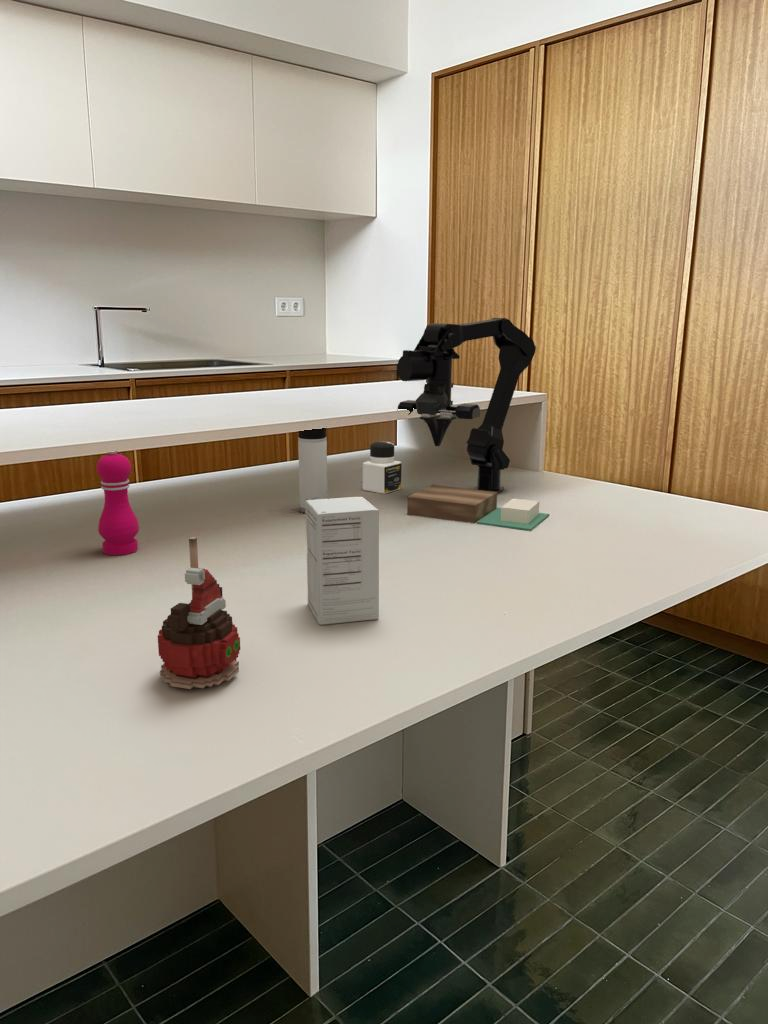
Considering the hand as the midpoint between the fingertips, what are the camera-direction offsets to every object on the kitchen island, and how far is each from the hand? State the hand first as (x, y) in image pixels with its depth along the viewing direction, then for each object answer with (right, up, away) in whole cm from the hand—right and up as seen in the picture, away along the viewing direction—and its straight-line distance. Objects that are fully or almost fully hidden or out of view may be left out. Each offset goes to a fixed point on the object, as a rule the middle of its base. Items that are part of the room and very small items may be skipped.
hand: (437, 446), depth 187 cm
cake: (-36, -36, -88) cm, 101 cm away
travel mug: (-28, -15, -8) cm, 33 cm away
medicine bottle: (-13, -10, +13) cm, 21 cm away
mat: (+16, -17, -14) cm, 27 cm away
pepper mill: (-62, -23, -38) cm, 76 cm away
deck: (+3, -15, -8) cm, 18 cm away
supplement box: (-19, -31, -67) cm, 76 cm away
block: (+17, -14, -15) cm, 26 cm away
